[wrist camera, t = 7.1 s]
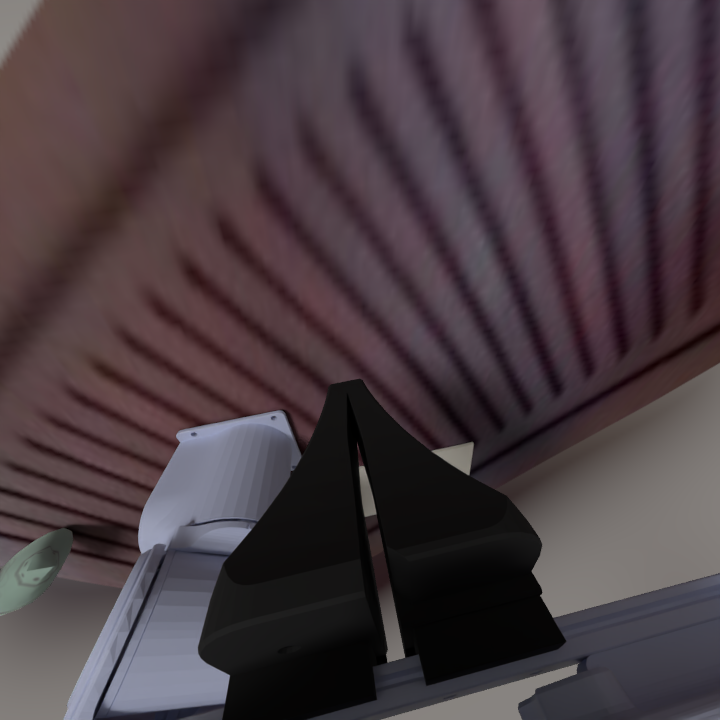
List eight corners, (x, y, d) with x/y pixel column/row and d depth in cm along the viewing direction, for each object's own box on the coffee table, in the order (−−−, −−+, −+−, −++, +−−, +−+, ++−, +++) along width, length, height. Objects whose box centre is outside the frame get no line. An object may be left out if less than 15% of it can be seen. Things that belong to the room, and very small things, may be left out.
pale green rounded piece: (74, 550, 29) (15, 635, 23) (26, 542, 27) (-50, 632, 22) (100, 514, 27) (42, 597, 21) (50, 503, 25) (-28, 591, 19)
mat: (335, 521, 34) (335, 523, 34) (319, 475, 29) (319, 477, 29) (465, 491, 35) (466, 493, 35) (472, 441, 30) (473, 443, 30)
